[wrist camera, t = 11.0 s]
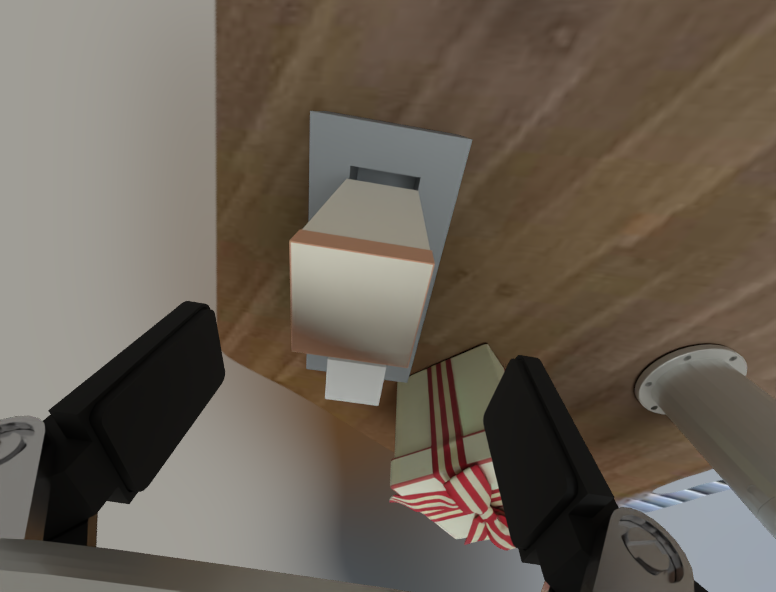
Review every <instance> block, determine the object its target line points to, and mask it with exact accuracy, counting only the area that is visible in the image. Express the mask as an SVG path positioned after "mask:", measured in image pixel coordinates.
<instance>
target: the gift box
mask: <svg viewBox="0 0 776 592" xmlns="http://www.w3.org/2000/svg"><path fill="white" fill-rule="evenodd" d="M504 372H505V369H504V368H503V367H502V365H501V364H500V362H499V361H498V359H497V358H496V356H495V355H494V353H493V352H492V350H491V349H490V347H489V345H488V344H484V345H481V346H479V347H477V348H474V349H472V350H469V351H467V352H465V353H462V354H460V355H458V356H455V357H453V358H451V359H448V360H446V361H443V362H441V363H438V364H436V365H434V366H432V367H429V368H427V369H425V370H423V371H420V372H418V373H416V374H414V375H411V376H409V379H408V383H404V382H397V407H396V435H395V458H394V459H392V460H391V476H390V478H391V479H390V487H391V489H393V490H394V491H395V492H397V493H398V494H399V495H393V496H392V497H391V498H390V503H391V502H398V503H401V504H403V505H405V506H406V507H409V508H410V509H411V510H413V511H416V512H422V513H423V514H424V515H425V516H427V517H428V518H429V519H431V520H432V521H433V522H435V523H436V524H437V525H438V526H440V527H441V528H442V529H443V530H445V531H446V532H447V533H449V534H450V535H451V536H452V537H454V538H455V539H460V538H466V541H465V543H464V544H465V545H466V544H470V543H472V542H477V541H482V540H489V539H490V540H491V541H492V543H494V545H496V546H497V547H499V548H500V549H503V550H510V549H513V548H516V547H515V546H514V545H513V543H512V541H511V538H510V534H509V530H508V525H507V521H506V517H505V513H504V509H503V504H502V500H501V496H500V492H499V488H498V483H497V479H496V475H495V471H494V467H493V463H492V458H491V454H490V450H489V446H488V442H487V437H486V433H485V429H484V424H483V416H484V413H485V411H486V409H487V407H488V404H489V402H490V400H491V398H492V396H493V394H494V392H495V390H496V388H497V386H498V384H499V382H500V380H501V378H502V376H503V374H504Z"/></svg>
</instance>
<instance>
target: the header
mask: <svg viewBox="0 0 776 592" xmlns="http://www.w3.org/2000/svg"><path fill="white" fill-rule="evenodd" d="M471 143H472V139H469V138H466V137H464V136H461V135H457V134H451V133H446V132H440V131H435V130H429V129H423V128H418V127H412V126H406V125H401V124H395V123H390V122H384V121H378V120H373V119H367V118H361V117H356V116H350V115H345V114H339V113H333V112H327V111H310V156H309V221H310V220H311V219H312V218H313V216H314V215H315V214H316V213H317V212H318V211H319V210H320V208H321V207H322V206H323V205H324V204H325V203H326V202H327V200H328V199H329V198H330V197H331V196H332V195H333V194H334V192H335V191H336V190H337V189H338V188H339V187H340V186H341V184H342V183H343V182H344V181H345V180H346V179H352V180H358V181H364V182H370V183H376V184H382V185H388V186H393V187H399V188H405V189H411V190H417V191H418V192H419V197H420V202H421V207H422V212H423V217H424V222H425V227H426V232H427V237H428V242H429V247H430V250H432V253H433V257H434V262H435V265H434V269H433V273H432V277H431V281H430V285H429V288H428V292H427V296H426V300H425V304H424V308H423V312H422V315H421V319H420V323H419V327H418V331H417V335H416V339H415V343H414V346H413V350H412V354H411V358H410V362H409V366H408V368H404V367H397V366H390V365H383V364H376V363H369V362H362V361H355V360H348V359H341V358H334V357H327V356H320V355H313V354H307V369H312V370H319V371H326V372H327V376H326V391H325V399H331V400H339V401H346V402H353V403H361V404H368V405H375V406H378V405H379V400H380V395H381V391H382V386H383V381H384V380H390V381H397V382H404V383H408V379H409V375H410V371H411V368H412V364H413V360H414V356H415V353H416V349H417V345H418V341H419V338H420V334H421V330H422V326H423V323H424V319H425V315H426V311H427V308H428V304H429V300H430V296H431V293H432V289H433V285H434V281H435V278H436V274H437V270H438V266H439V263H440V259H441V255H442V251H443V248H444V244H445V240H446V236H447V233H448V229H449V225H450V221H451V218H452V214H453V210H454V206H455V203H456V199H457V195H458V191H459V188H460V184H461V180H462V176H463V173H464V169H465V165H466V161H467V158H468V154H469V150H470V146H471Z"/></svg>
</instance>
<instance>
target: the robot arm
mask: <svg viewBox="0 0 776 592" xmlns="http://www.w3.org/2000/svg"><path fill="white" fill-rule="evenodd" d="M746 374H747V363H746V361H745V360H744V358H743V357H742V356H741V355H739V354H738V353H737V352H735V351H734V350H732V349H730V348H728V347H725V346H721V345H712V344H708V345H697V346H691V347H687V348H683V349H680V350H677V351H675V352H672V353H670V354H667V355H666V356H664V357H662V358H660V359H658V360H657V361H655V362H654V363H653V364H651V365H650V366H649V367H648V368H647V369H646V370H645V371H644V372H643V373H642V374H641V376H640V377H639V379H638V381H637V383H636V386H635V395H636V397H637V399H638V401H639V402H640V403H641V404H642V406H643V407H645V408H646V409H647V410H649V411H652V412H654V413H659V414H666V415H667V416H668V417H669V418H670V420H671V421H672V422H673V423H674V424H675V425H676V426H677V428H678V429H679V430H680V431H681V432H682V433H683V434H684V436H685V437H686V438H687V439H688V440H689V441H690V442H691V444H692V445H693V446H694V447H695V448H696V449H697V450H698V452H699V453H700V454H701V455H702V456H703V457H704V458H705V460H706V461H707V462H708V463H709V464H710V465H711V466H712V467H713V469H714V470H715V471H716V472H717V473H718V474H719V475H720V477H721V478H722V479H723V480H724V481H725V482H726V483H727V485H728V486H729V487H730V488H731V489H732V490H733V491H734V493H735V494H736V495H737V496H738V497H739V498H740V499H741V501H742V502H743V503H744V504H745V505H746V506H747V507H748V508H749V510H750V511H751V512H752V513H753V514H754V515H755V517H756V518H757V519H758V520H759V521H760V522H761V523H762V524H763V526H764V527H765V528H766V529H767V530H768V531H769V532H770V533H771V534H772V535H773V537H774V538H775V539H776V399H774V398H773V397H772V396H770V395H769V394H768V393H767V392H765V391H764V390H763V389H761V388H760V387H759V386H757V385H756V384H755V383H753V382H752V381H751V380H750V379H748V378H747V377H746ZM224 377H225V369H224V363H223V357H222V352H221V346H220V340H219V335H218V329H217V323H216V317H215V313H214V311H213V310H210V307H209V306H208V305H207V304H203V303H197V302H190V301H185V302H183V303H182V304H181V305H179V306H178V307H177V308H176V309H174V310H173V311H172V312H171V313H169V314H168V315H167V316H166V317H164V318H163V319H162V320H161V321H159V322H158V323H157V324H156V325H154V326H153V327H152V328H151V329H149V330H148V331H147V332H146V333H144V334H143V335H142V336H141V337H139V338H138V339H137V340H136V341H134V342H133V343H132V344H131V345H129V346H128V347H127V348H126V349H124V350H123V351H122V352H121V353H119V354H118V355H117V356H116V357H114V358H113V359H112V360H111V361H110V362H108V363H107V364H106V365H105V366H103V367H102V368H101V369H100V370H98V371H97V372H96V373H94V374H93V375H92V376H91V377H90V378H88V379H87V380H86V381H85V382H83V383H82V384H81V385H79V386H78V387H77V388H76V389H75V390H73V391H72V392H71V393H70V394H69V395H67V396H66V397H65V398H64V399H62V400H61V401H60V402H58V403H57V404H56V405H55V406H53V407H52V408H51V409H50V410H49V412H50V414H51V415H50V416H48V417H47V418H46V419H45V420H43V421H41V420H40V419H39V418H36V417H32V416H15V417H10V418H6V419H1V420H0V592H409V591H402V590H395V589H388V588H382V587H376V586H369V585H361V584H355V583H347V582H341V581H334V580H327V579H320V578H313V577H307V576H300V575H293V574H286V573H279V572H272V571H265V570H258V569H251V568H244V567H237V566H229V565H223V564H216V563H209V562H201V561H194V560H187V559H180V558H173V557H165V556H158V555H151V554H144V553H137V552H130V551H123V550H115V549H107V548H98V547H96V543H97V518H98V511H99V510H100V509H101V507H102V506H103V505H104V504H105V502H106V501H112V502H118V503H126V504H130V502H131V501H132V500H133V498H134V497H135V495H136V494H137V493H138V492H141V491H143V490H144V489H145V488H147V487H148V486H149V484H150V483H151V482H152V480H153V479H154V477H155V476H156V475H157V473H158V472H159V470H160V469H161V468H162V466H163V465H164V464H165V462H166V461H167V459H168V458H169V457H170V455H171V454H172V452H173V451H174V449H175V448H176V446H177V445H178V444H179V443H180V441H181V440H182V438H183V437H184V436H185V434H186V433H187V431H188V430H189V428H190V427H191V426H192V424H193V423H194V422H195V420H196V419H197V417H198V416H199V415H200V413H201V412H202V410H203V409H204V408H205V406H206V405H207V404H208V402H209V401H210V399H211V398H212V397H213V395H214V394H215V392H216V391H217V390H218V388H219V387H220V385H221V384H222V382H223V380H224ZM483 424H484V429H485V433H486V437H487V442H488V446H489V450H490V454H491V458H492V463H493V467H494V471H495V475H496V479H497V483H498V488H499V492H500V496H501V500H502V504H503V509H504V513H505V517H506V521H507V525H508V530H509V534H510V538H511V541H512V543H513V545H514V546H515V547H516V548H518V549H519V553H520V557H521V561H522V562H523V563H530V564H537V565H540V566H541V569H542V573H543V576H544V579H545V582H544V585H543V588H542V590H541V592H708V591H707V590H705V589H704V588H703V587H701V585H699V584H698V583H697V582H696V581H694V578H693V572H692V567H691V565H690V563H689V561H688V559H687V557H686V555H685V553H684V552H683V550H682V549H681V547H680V546H679V544H678V543H677V542H676V541H675V539H674V538H673V537H672V536H671V535H670V534H669V533H668V532H667V531H666V530H665V529H664V528H663V527H662V526H661V525H659V524H658V523H657V522H656V521H655V520H654V519H652V518H650V517H649V516H647V515H645V514H644V513H642V512H640V511H637V510H635V509H632V508H624V507H621V508H619V507H618V505H617V504H616V502H615V500H614V496H613V494H612V492H611V490H610V488H609V487H608V485H607V483H606V481H605V479H604V477H603V475H602V474H601V472H600V470H599V468H598V466H597V464H596V462H595V461H594V459H593V457H592V455H591V453H590V451H589V450H588V448H587V446H586V444H585V442H584V440H583V438H582V437H581V435H580V433H579V431H578V429H577V427H576V425H575V424H574V422H573V420H572V418H571V416H570V414H569V412H568V411H567V409H566V407H565V405H564V403H563V401H562V399H561V398H560V396H559V394H558V392H557V390H556V388H555V386H554V385H553V383H552V381H551V379H550V377H549V375H548V374H547V372H546V370H545V368H544V366H543V364H542V362H541V361H540V360H539V359H538V358H534V357H528V356H522V355H518V356H517V357H516V358H515V359H511V360H510V361H509V363H508V365H507V367H506V370H505V372H504V374H503V376H502V378H501V380H500V382H499V384H498V386H497V388H496V390H495V392H494V394H493V396H492V398H491V400H490V402H489V404H488V407H487V409H486V411H485V413H484V416H483Z"/></svg>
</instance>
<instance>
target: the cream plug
mask: <svg viewBox="0 0 776 592" xmlns="http://www.w3.org/2000/svg"><path fill="white" fill-rule="evenodd" d="M289 248H290V296H291V344H292V352H299V353H306V354H313V355H320V356H327V357H334V358H341V359H348V360H355V361H362V362H369V363H376V364H383V365H390V366H397V367H404V368H408V366H409V362H410V358H411V354H412V350H413V346H414V343H415V339H416V335H417V331H418V327H419V323H420V319H421V315H422V312H423V308H424V304H425V300H426V296H427V292H428V288H429V285H430V281H431V277H432V273H433V269H434V265H435V262H434V257H433V253H432V250H430V247H429V242H428V237H427V232H426V227H425V222H424V217H423V212H422V207H421V202H420V197H419V192H418V191H417V190H411V189H405V188H399V187H393V186H388V185H382V184H376V183H370V182H364V181H358V180H352V179H346V180H345V181H344V182H343V183H342V184H341V186H340V187H339V188H338V189H337V190H336V191H335V192H334V194H333V195H332V196H331V197H330V198H329V199H328V200H327V202H326V203H325V204H324V205H323V206H322V207H321V208H320V210H319V211H318V212H317V213H316V214H315V215H314V216H313V218H312V219H311V220H310V221H309V222H308V223H307V224H306V226H305V227H304V228H303V229H302V230H301V229H299V231H298V232H297V233H296V234H295V235H294V236H293V237H292V238H291V239H290V241H289Z"/></svg>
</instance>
